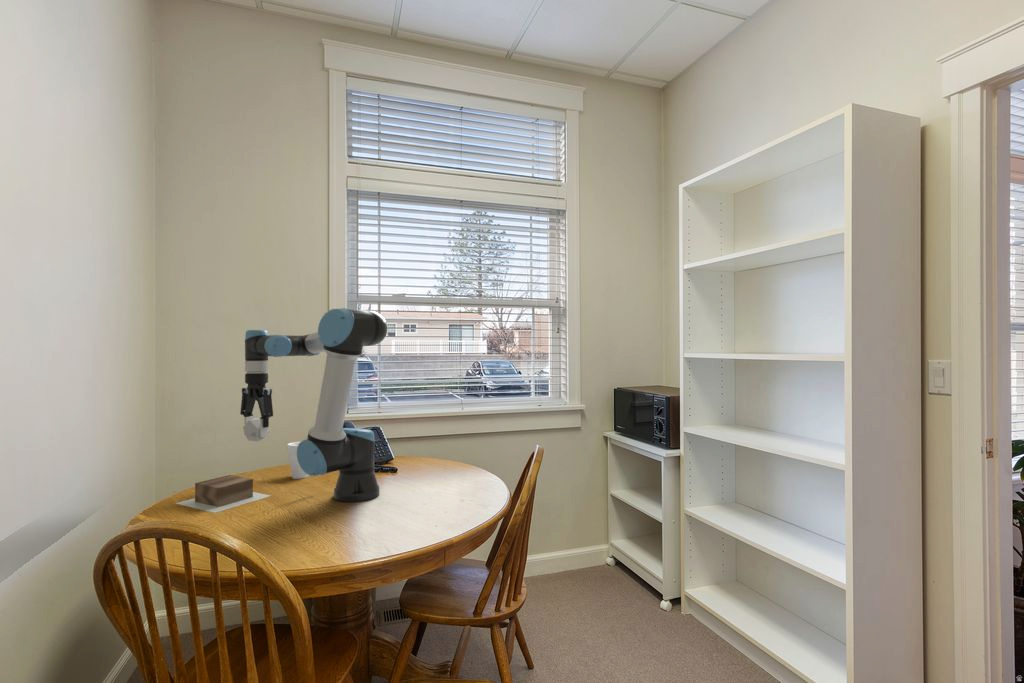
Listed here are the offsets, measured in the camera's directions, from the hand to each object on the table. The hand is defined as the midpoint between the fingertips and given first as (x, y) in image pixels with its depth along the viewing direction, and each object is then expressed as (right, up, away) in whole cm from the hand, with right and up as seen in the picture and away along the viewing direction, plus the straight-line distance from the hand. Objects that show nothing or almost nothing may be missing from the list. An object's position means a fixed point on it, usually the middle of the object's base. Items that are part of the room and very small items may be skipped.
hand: (256, 435), depth 189 cm
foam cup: (+9, -19, +16) cm, 27 cm away
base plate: (-2, -19, -17) cm, 26 cm away
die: (0, -2, 0) cm, 2 cm away
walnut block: (-2, -18, -17) cm, 25 cm away
